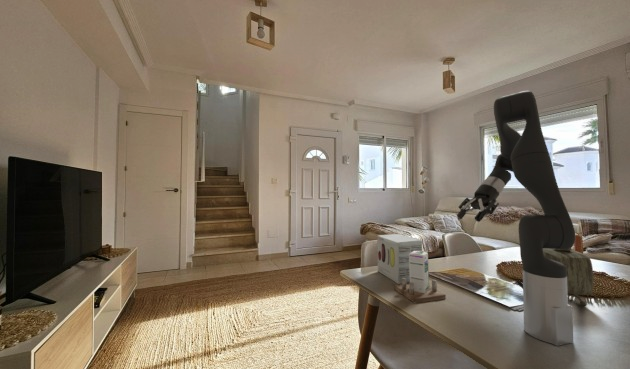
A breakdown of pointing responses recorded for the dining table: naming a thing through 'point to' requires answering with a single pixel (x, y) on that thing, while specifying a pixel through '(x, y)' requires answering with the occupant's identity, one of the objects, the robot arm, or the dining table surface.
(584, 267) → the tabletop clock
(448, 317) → the dining table surface
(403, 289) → the pin tray
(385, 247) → the supplement box
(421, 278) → the syrup box
